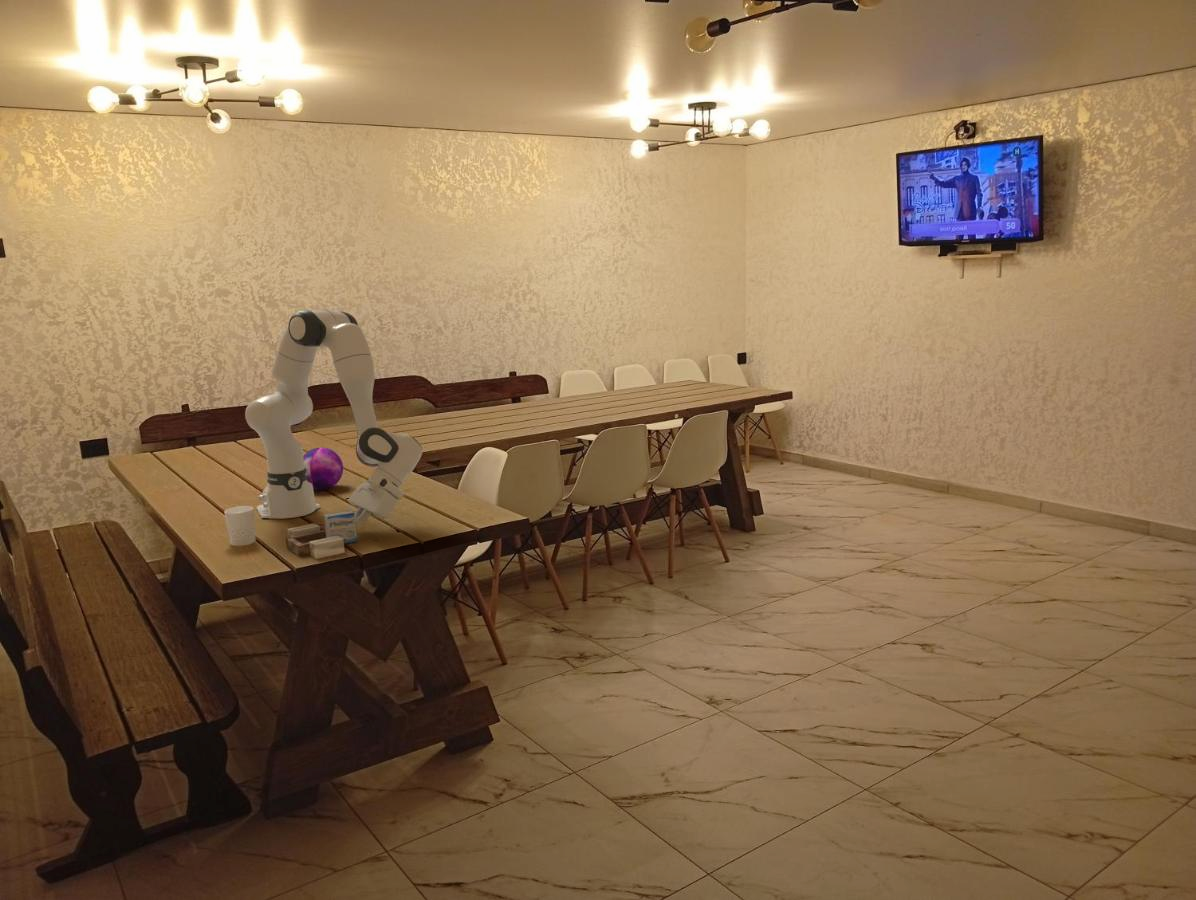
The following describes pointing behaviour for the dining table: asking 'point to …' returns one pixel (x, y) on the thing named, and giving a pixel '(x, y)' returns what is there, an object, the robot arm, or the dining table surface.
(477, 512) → the dining table surface
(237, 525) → the white cup
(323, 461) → the decorative orb
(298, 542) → the wooden tray
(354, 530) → the medicine box
